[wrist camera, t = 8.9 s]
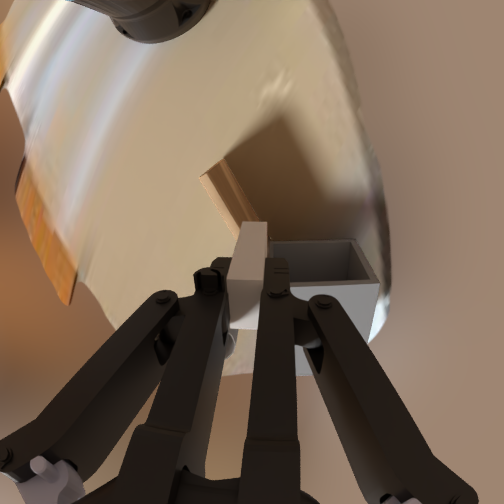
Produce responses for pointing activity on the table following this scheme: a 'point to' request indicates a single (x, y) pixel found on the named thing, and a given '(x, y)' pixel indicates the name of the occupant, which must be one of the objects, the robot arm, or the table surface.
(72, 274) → the table surface
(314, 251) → the grey open box
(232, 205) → the wooden cabinet door
